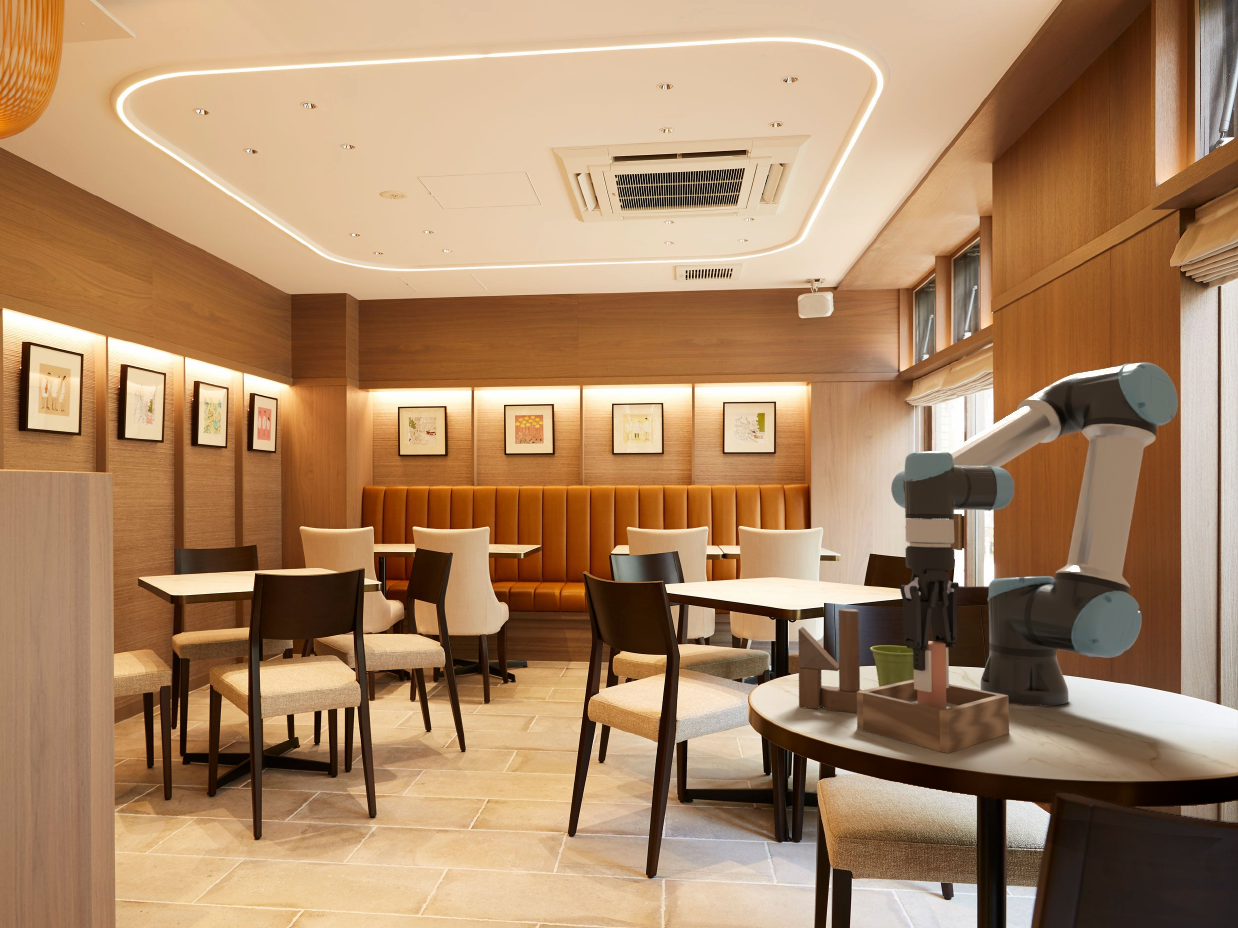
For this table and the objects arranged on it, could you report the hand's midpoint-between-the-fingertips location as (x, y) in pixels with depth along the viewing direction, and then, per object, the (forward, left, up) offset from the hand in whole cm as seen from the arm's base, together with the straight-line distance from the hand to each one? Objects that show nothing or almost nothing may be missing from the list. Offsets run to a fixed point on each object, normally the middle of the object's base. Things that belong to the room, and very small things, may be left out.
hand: (931, 687), depth 128 cm
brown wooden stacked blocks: (+2, -19, -7) cm, 20 cm away
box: (0, 0, -7) cm, 7 cm away
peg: (0, 0, -5) cm, 5 cm away
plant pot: (-18, -19, -7) cm, 27 cm away
